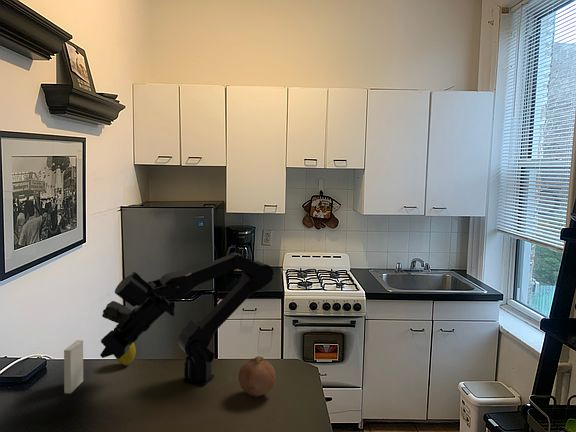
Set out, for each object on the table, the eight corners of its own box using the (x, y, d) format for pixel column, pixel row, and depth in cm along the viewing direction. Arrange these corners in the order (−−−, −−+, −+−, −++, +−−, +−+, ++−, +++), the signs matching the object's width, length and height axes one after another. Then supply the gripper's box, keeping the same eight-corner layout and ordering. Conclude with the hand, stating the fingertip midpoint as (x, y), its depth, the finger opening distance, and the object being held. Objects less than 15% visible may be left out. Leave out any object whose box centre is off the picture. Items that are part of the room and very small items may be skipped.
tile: (83, 380, 120) (83, 340, 120) (70, 393, 113) (70, 350, 113) (77, 380, 120) (76, 340, 120) (64, 393, 113) (63, 350, 113)
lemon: (129, 370, 128) (129, 342, 127) (111, 368, 129) (111, 340, 128) (139, 362, 133) (139, 336, 132) (122, 360, 134) (122, 334, 134)
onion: (247, 384, 121) (248, 348, 120) (280, 391, 118) (281, 353, 117) (231, 400, 112) (232, 361, 111) (266, 407, 109) (267, 367, 108)
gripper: (135, 283, 124) (94, 322, 125) (110, 302, 106) (61, 347, 106) (163, 313, 125) (122, 351, 126) (143, 336, 106) (95, 380, 107)
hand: (101, 356), depth 116 cm, fingers closed
